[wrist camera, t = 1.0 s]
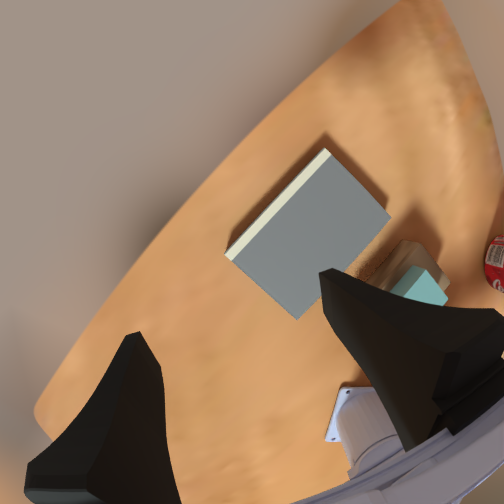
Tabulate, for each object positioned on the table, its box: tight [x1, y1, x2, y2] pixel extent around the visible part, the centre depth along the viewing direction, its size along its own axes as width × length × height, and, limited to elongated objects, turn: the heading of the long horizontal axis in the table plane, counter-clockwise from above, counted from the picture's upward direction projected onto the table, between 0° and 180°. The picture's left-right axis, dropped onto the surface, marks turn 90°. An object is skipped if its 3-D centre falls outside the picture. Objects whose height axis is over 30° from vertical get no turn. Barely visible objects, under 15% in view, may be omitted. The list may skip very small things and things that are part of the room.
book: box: [224, 148, 391, 320], centre depth 29 cm, size 13×9×2 cm
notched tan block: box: [365, 239, 451, 292], centre depth 29 cm, size 9×6×4 cm, turn 137°
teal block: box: [390, 265, 448, 306], centre depth 25 cm, size 5×4×2 cm
